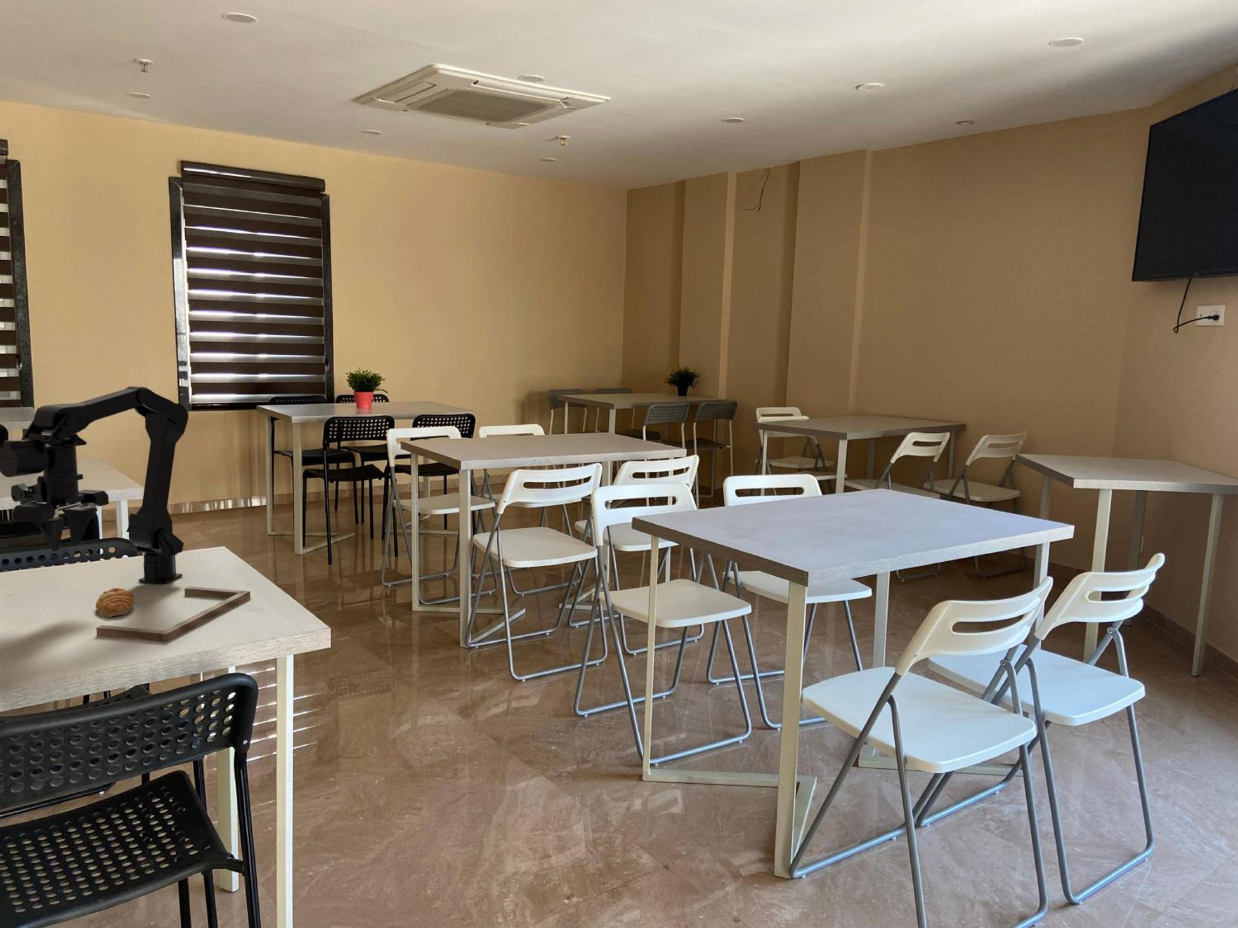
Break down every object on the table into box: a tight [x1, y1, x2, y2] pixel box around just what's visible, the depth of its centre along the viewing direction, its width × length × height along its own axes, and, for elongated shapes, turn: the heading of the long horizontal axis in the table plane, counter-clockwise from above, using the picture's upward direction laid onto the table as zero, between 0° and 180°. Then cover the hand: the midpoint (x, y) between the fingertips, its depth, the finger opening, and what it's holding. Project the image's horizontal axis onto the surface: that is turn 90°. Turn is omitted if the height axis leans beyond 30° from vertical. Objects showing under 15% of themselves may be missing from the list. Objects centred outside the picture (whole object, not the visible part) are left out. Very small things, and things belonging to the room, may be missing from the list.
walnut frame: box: [96, 585, 251, 643], centre depth 176 cm, size 27×14×2 cm, turn 171°
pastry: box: [95, 587, 136, 618], centre depth 177 cm, size 9×7×4 cm
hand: (65, 547), depth 178 cm, fingers open, 5 cm apart
